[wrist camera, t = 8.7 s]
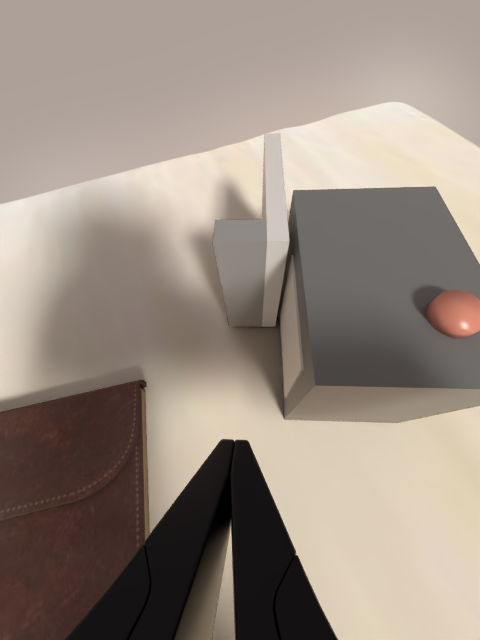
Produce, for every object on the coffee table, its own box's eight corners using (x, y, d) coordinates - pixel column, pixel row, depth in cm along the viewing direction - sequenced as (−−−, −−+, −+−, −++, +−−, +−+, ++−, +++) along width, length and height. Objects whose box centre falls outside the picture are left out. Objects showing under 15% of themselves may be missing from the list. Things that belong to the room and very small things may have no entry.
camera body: (397, 422, 15) (574, 385, 7) (282, 419, 16) (316, 380, 7) (360, 278, 21) (433, 158, 12) (276, 278, 21) (290, 162, 13)
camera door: (275, 326, 18) (289, 240, 11) (229, 326, 19) (212, 242, 11) (271, 237, 23) (280, 133, 16) (234, 237, 23) (225, 135, 16)
